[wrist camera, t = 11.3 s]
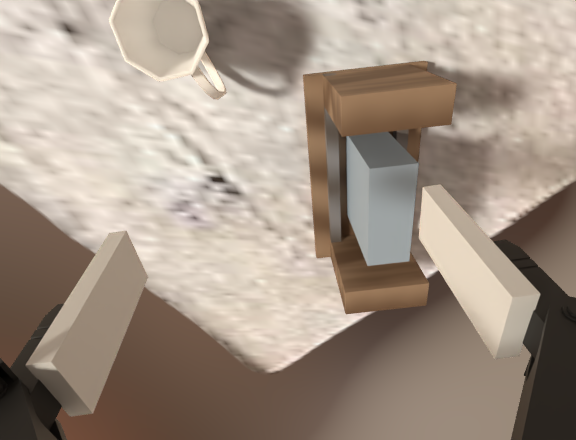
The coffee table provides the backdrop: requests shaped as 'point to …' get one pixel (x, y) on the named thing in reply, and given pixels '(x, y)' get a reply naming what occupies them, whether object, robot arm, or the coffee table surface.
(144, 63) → the cup
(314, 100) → the wooden u-shaped holder
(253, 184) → the coffee table surface
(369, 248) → the gray rectangular block
